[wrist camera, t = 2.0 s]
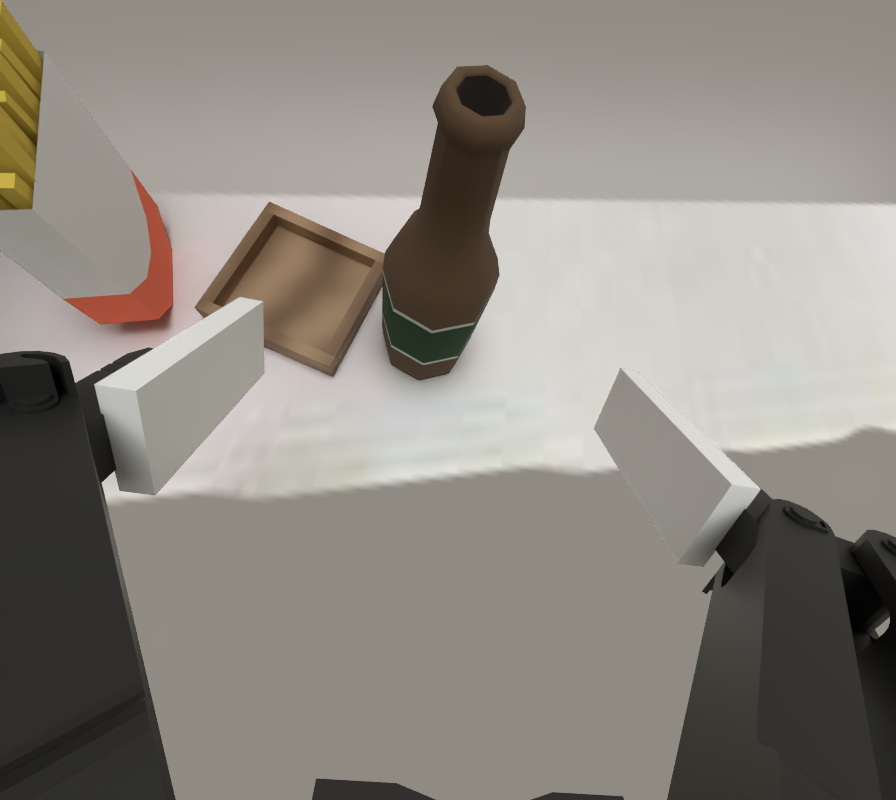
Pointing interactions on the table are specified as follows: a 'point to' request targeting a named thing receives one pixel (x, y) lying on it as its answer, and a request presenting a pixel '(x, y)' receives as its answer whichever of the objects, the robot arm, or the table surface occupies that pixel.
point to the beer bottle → (451, 226)
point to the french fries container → (73, 196)
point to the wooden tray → (301, 286)
